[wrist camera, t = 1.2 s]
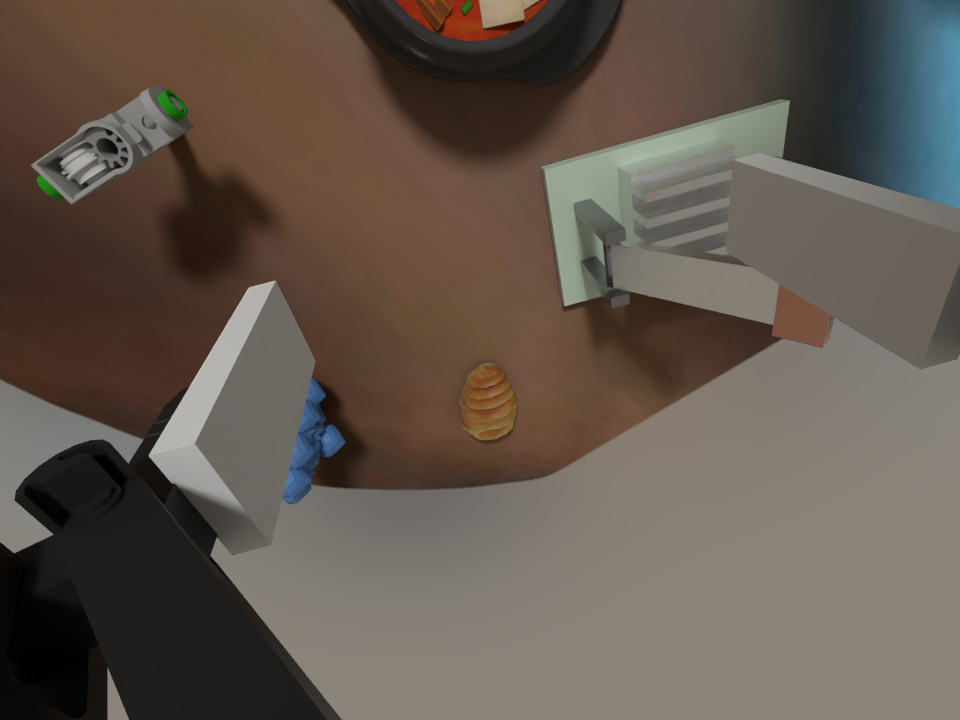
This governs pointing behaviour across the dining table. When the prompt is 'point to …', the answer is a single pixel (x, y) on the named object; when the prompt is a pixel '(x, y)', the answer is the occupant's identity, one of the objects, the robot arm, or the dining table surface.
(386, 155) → the dining table surface
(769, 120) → the circuit board
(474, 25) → the casserole
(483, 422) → the pastry
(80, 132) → the mechanical component
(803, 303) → the retention strap
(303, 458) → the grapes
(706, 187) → the heat sink
